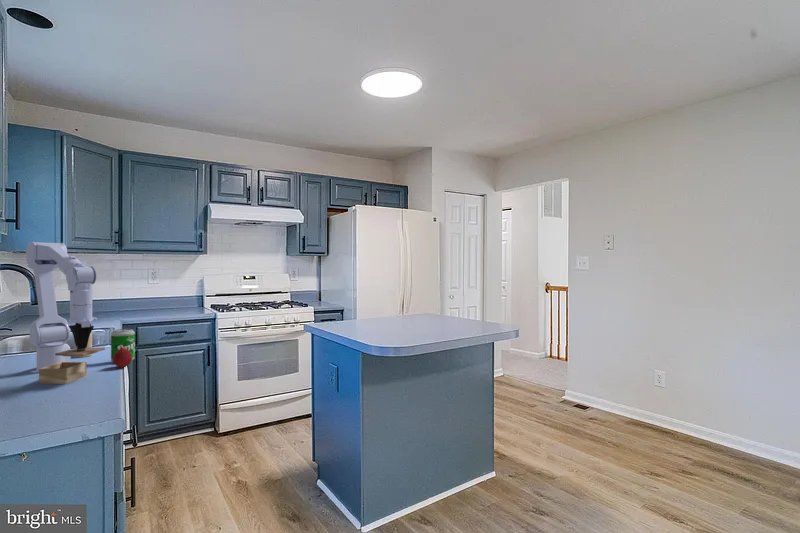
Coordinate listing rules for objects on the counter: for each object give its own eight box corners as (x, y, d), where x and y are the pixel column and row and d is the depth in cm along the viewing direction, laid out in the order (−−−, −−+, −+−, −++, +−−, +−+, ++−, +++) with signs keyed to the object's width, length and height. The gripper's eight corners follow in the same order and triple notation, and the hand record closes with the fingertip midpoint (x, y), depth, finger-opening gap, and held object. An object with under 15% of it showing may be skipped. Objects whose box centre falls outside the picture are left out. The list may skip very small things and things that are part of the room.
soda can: (108, 365, 157) (109, 332, 157) (113, 360, 164) (113, 329, 164) (133, 363, 160) (133, 331, 160) (136, 359, 167) (136, 328, 167)
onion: (135, 366, 155) (135, 344, 155) (126, 370, 150) (126, 347, 149) (119, 366, 155) (119, 344, 155) (108, 370, 149) (108, 347, 149)
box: (61, 377, 141) (61, 361, 141) (86, 377, 141) (86, 362, 141) (38, 385, 132) (38, 368, 132) (65, 385, 132) (65, 369, 132)
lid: (78, 350, 142) (79, 336, 142) (104, 351, 142) (105, 337, 142) (55, 357, 132) (55, 341, 132) (83, 357, 132) (83, 342, 132)
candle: (91, 356, 170) (92, 331, 170) (74, 358, 167) (74, 332, 167) (92, 354, 175) (92, 329, 175) (75, 355, 172) (75, 330, 172)
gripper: (101, 305, 135) (101, 349, 135) (91, 302, 145) (91, 342, 145) (73, 307, 130) (73, 352, 130) (65, 303, 140) (65, 345, 140)
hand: (81, 347), depth 137 cm, fingers closed on lid, 2 cm apart
